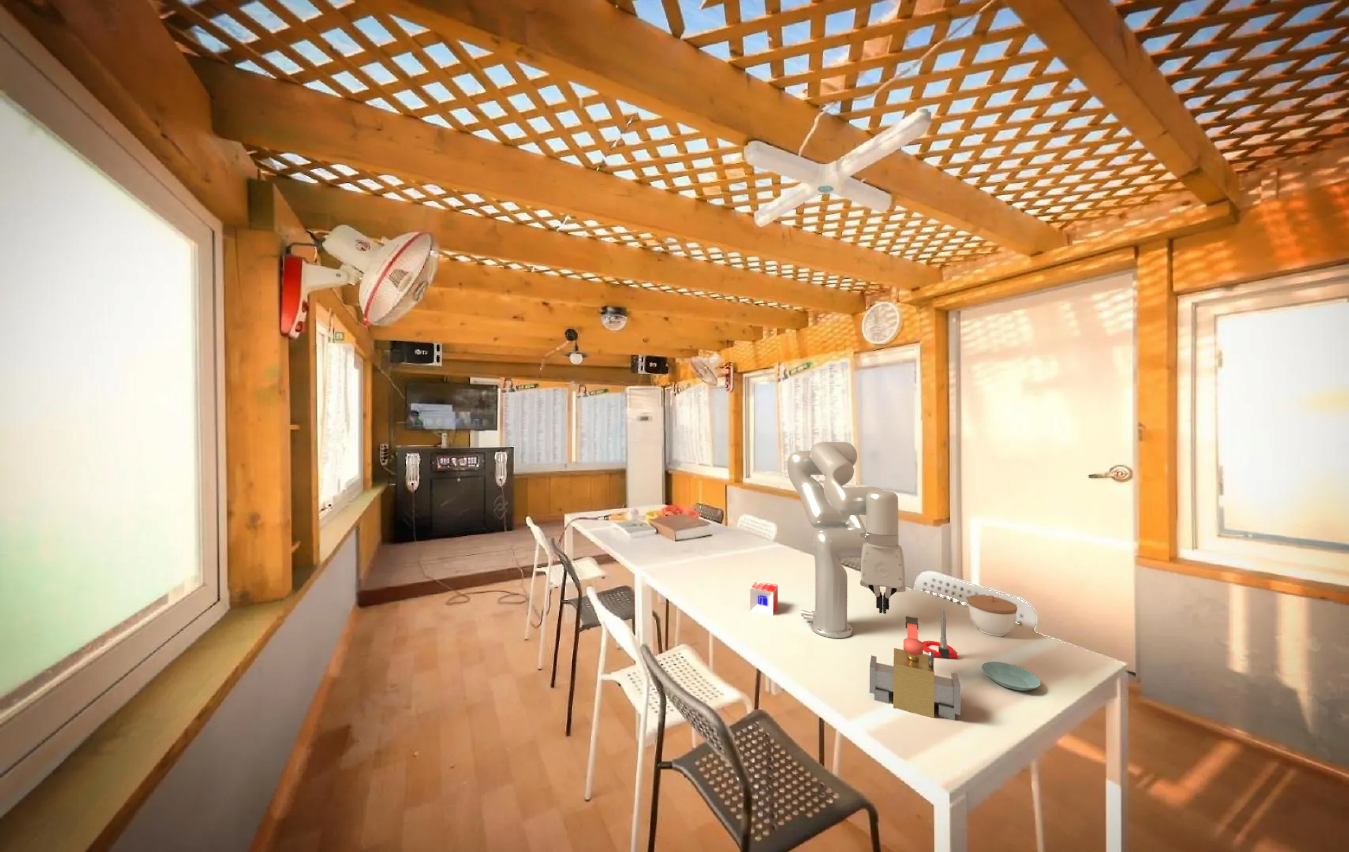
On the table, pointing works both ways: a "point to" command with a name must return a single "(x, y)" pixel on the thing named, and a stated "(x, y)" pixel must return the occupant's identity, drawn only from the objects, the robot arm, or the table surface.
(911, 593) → the table surface
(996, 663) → the saucer
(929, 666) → the valve body
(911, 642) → the lever
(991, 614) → the lidded bowl
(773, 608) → the white and red cube
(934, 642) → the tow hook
